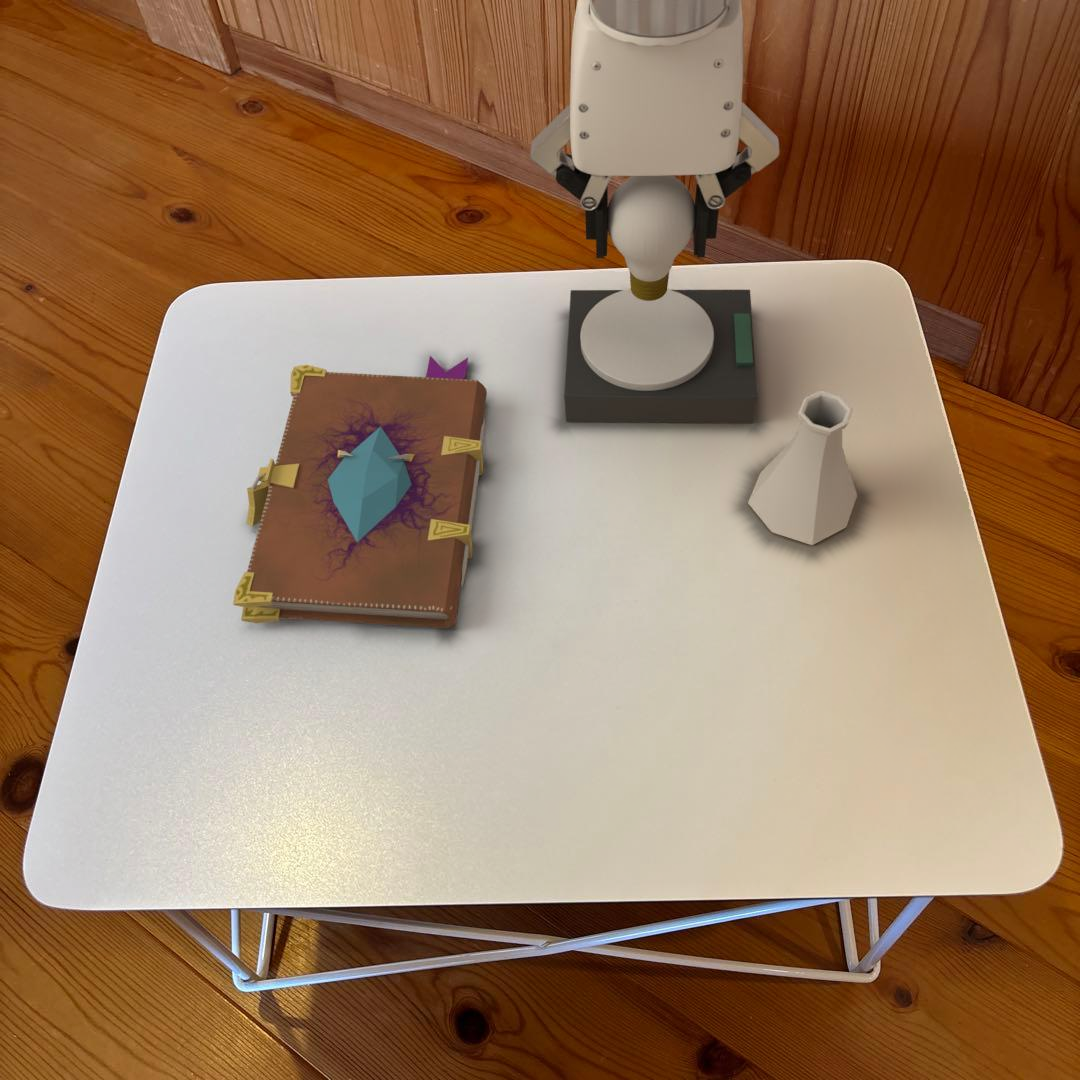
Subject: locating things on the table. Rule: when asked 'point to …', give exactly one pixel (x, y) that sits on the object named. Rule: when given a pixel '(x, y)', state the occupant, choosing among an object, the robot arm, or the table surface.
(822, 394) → the flask
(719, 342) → the scale
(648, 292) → the light bulb
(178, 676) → the table surface
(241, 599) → the book
